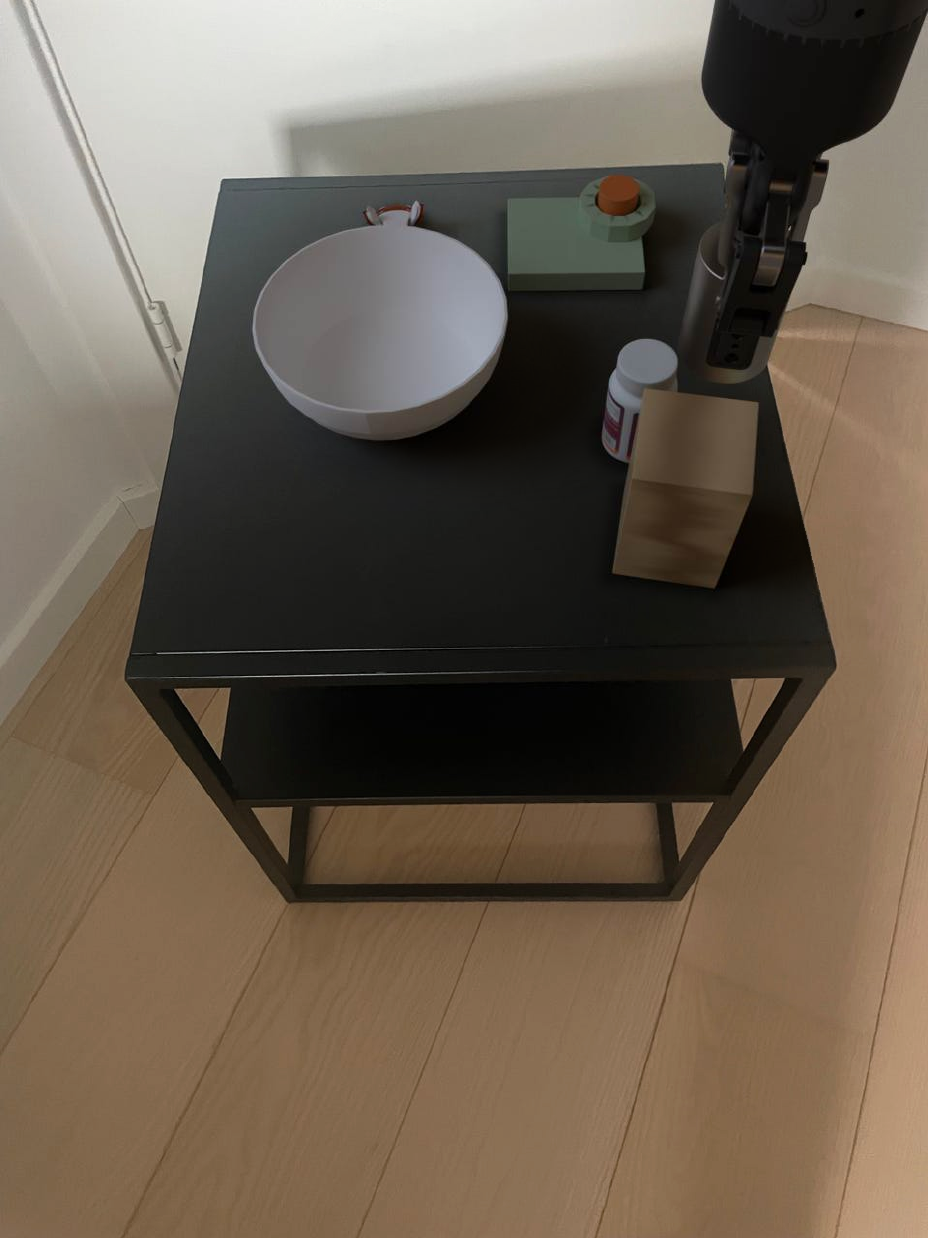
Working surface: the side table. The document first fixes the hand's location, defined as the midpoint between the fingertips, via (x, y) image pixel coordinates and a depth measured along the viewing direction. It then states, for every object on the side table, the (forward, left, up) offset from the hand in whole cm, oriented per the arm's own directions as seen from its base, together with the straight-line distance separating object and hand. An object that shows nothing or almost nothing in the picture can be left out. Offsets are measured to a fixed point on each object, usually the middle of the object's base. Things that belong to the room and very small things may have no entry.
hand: (730, 322), depth 49 cm
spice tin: (0, 0, -2) cm, 2 cm away
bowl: (+23, -11, -21) cm, 32 cm away
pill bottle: (+3, -8, -21) cm, 22 cm away
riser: (0, 0, -20) cm, 20 cm away
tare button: (+7, -30, -17) cm, 35 cm away
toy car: (+26, -26, -21) cm, 42 cm away
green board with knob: (+11, -27, -20) cm, 36 cm away
